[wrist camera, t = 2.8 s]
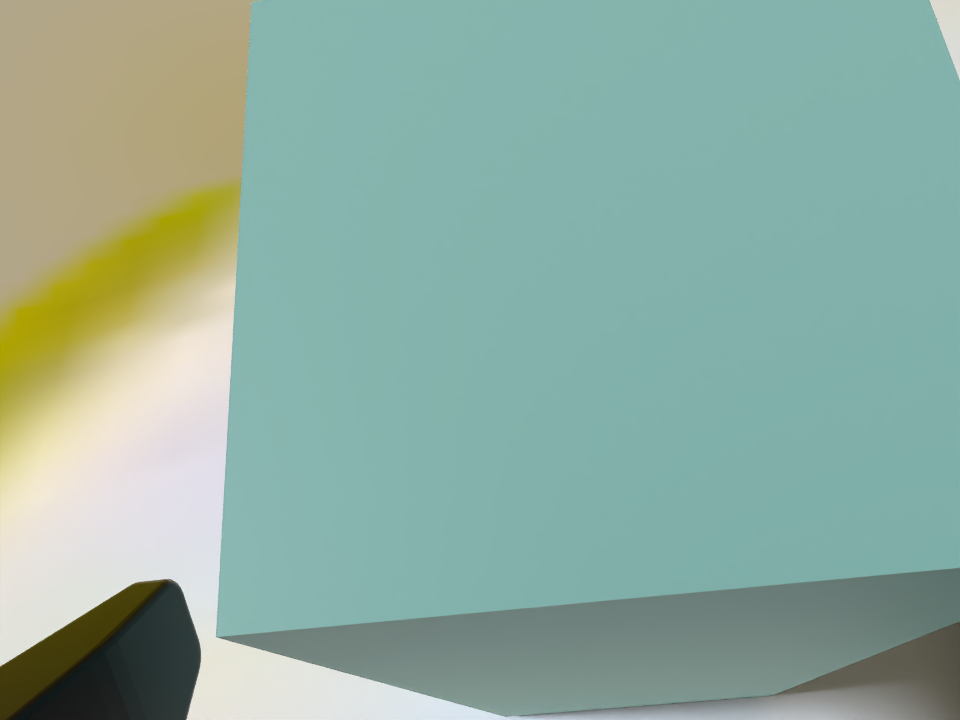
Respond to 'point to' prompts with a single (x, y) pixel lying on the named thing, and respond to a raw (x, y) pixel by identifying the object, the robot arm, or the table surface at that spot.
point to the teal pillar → (594, 345)
